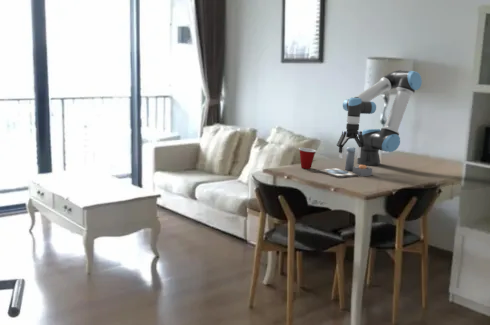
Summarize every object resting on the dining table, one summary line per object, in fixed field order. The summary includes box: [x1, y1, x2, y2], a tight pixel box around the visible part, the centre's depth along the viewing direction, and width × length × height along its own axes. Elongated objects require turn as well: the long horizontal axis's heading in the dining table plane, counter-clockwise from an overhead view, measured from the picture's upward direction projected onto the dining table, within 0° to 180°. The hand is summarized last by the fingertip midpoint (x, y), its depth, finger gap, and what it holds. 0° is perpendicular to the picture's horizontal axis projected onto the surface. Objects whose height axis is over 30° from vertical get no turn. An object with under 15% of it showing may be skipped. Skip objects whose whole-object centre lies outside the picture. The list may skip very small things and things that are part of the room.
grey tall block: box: [344, 146, 356, 172], centre depth 339 cm, size 5×5×14 cm
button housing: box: [352, 166, 373, 177], centre depth 328 cm, size 8×8×4 cm
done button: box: [358, 164, 368, 169], centre depth 327 cm, size 4×4×2 cm
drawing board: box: [316, 167, 359, 179], centre depth 326 cm, size 15×20×1 cm
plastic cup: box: [298, 147, 317, 170], centre depth 339 cm, size 11×11×12 cm
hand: (349, 157), depth 338 cm, fingers open, 13 cm apart
